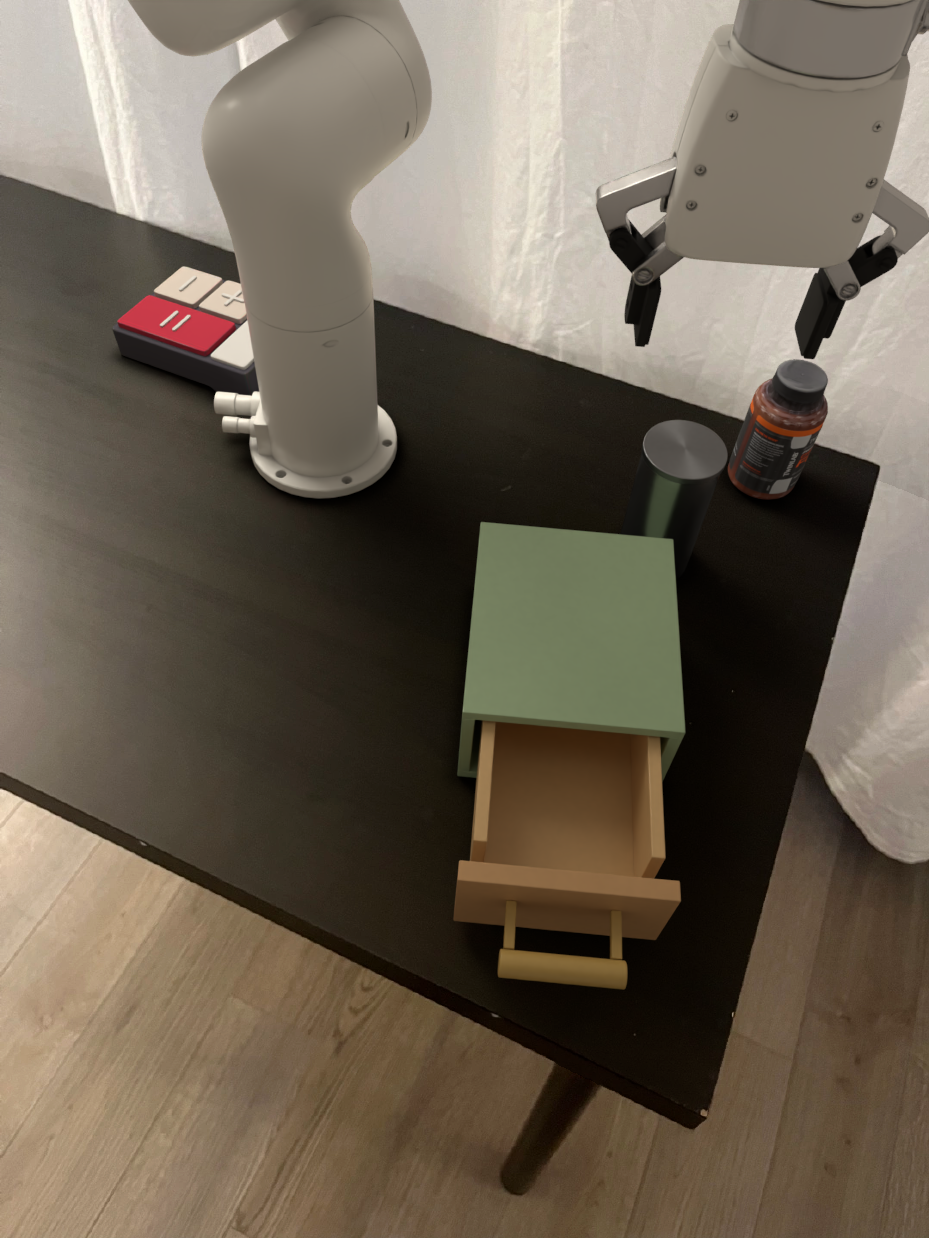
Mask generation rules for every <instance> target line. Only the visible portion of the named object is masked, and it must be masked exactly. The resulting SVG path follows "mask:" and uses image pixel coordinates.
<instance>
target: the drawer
mask: <svg viewBox="0 0 929 1238" xmlns="http://www.w3.org/2000/svg"><path fill="white" fill-rule="evenodd" d="M475 779H476V780H475V791H474V792H475V793H474V805H473V817H472V826H471V827H472V830H471V842H470V853H469V860H463V859H462V860H461V859H460V860H459V861H458V869H457V879H456V886H455V887H456V888H455V898H454V908H453V921H454V922H463V923H473V924H483V925H491V926H503V944H502V946H503V947H502V948H500V949H499V953H498V960H497V977H498V978H502V979H511V980H520V981H531V982H541V983H552V984H561V985H573V986H582V987H594V988H603V989H612V990H613V989H614V990H625V989H626V987H627V985H628V975H629V974H628V964H627V961H626V960H623V938H630V939H637V940H638V939H639V940H650V941H656V940H657V939H658V938H659V936H660V934H661V933H662V931H663V929H664V928H665V927H666V926H667V923H668V922H669V921H670V919H671V917H672V916H673V914H674V913H675V911H676V910H677V908H678V907H679V905H680V903H681V902H682V894H681V893H682V892H681V882H680V880H674V879H673V880H671V879H661V878H656V876H657V875H658V873H659V871H660V870H661V867H662V866H663V863H665V862H664V861H666V859H667V858H666V837H665V816H664V795H663V794H664V792H663V782H662V769H661V746H660V737H657V736H646V735H635V734H625V733H614V732H603V731H592V730H582V729H571V728H560V727H549V726H538V725H528V724H517V723H506V722H495V721H485V720H481V730H480V742H479V754H478V766H477V778H475ZM516 928H526V929H535V930H545V931H556V932H566V933H577V934H588V935H596V936H598V935H599V936H609V958H604V957H603V958H602V957H601V958H600V957H593V956H582V955H581V956H580V955H571V954H570V955H569V954H561V953H560V954H558V953H549V952H539V951H528V950H520V949H519V950H518V949H515V946H516Z"/></svg>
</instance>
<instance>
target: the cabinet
mask: <svg viewBox="0 0 929 1238" xmlns="http://www.w3.org/2000/svg"><path fill="white" fill-rule="evenodd" d="M478 534H479V535H478V545H477V546H478V547H477V556H476V557H477V558H476V567H475V576H474V577H475V578H474V586H473V587H474V590H473V598H472V608H471V619H470V628H469V630H470V631H469V640H468V649H467V651H468V652H467V659H466V661H467V662H466V670H465V671H466V672H465V682H464V693H463V704H462V711H461V713H462V714H461V725H460V735H459V736H460V737H459V749H458V750H459V751H458V761H457V762H458V763H457V773H456V775H457V777H463V778H474V779H477V766H478V754H479V742H480V730H481V720H485V721H495V722H506V723H517V724H528V725H538V726H549V727H560V728H571V729H582V730H592V731H603V732H614V733H625V734H635V735H646V736H657V737H660V746H661V769H662V783H663V782H664V780H665V777H666V775H667V773H668V771H669V769H670V766H671V764H672V762H673V760H674V758H675V756H676V754H677V752H678V750H679V747H680V745H681V744H682V741H683V739H684V737H685V735H686V720H685V719H686V718H685V704H684V689H683V673H682V671H683V670H682V658H681V657H682V656H681V655H682V654H681V642H680V641H681V640H680V625H679V610H678V608H679V607H678V593H677V592H678V591H677V580H676V576H675V560H674V544H673V539H664V538H653V537H642V536H631V535H620V533H619V534H618V533H608V532H596V531H587V530H586V531H585V530H574V529H563V528H553V527H540V526H529V525H519V524H510V523H509V524H507V523H496V522H485V521H481V522H480V526H479V533H478Z"/></svg>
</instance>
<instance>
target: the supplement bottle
mask: <svg viewBox="0 0 929 1238" xmlns="http://www.w3.org/2000/svg"><path fill="white" fill-rule="evenodd" d="M828 382H829V378H828V375H827V373H826V371H825V370H824V369H823V368H822V367H820V366H819V365H818V364H817V363H815V362H812V361H808V360H806V359H797V358H795V359H794V358H793V359H787V360H784V361H783V362H781V363H780V364H779V365H778V366H777V367H776V370H775V373H774V374H773V376H772V377H771V378H769V379H767V380H765V381H763V382H762V383H761V384H759V386H758V387H757V388H756V390H755V391H754V394H753V396H752V399H751V401H750V404H749V407H748V409H747V412H746V414H745V417H744V420H743V423H742V426H741V428H740V430H739V432H738V436H737V439H736V441H735V445H734V447H733V450H732V452H731V455H730V457H729V463H728V466H727V475H728V477H729V480H730V481H731V483H732V484H733V486H734V487H735V488H737V489H738V490H739V491H740V492H742V493H744V494H745V495H747V496H749V497H752V498H755V499H759V500H770V501H771V500H778V499H780V498H781V499H782V498H784V497H786V496H787V495H788V494H789V493H791V492H792V490H793V489H794V488H795V485H796V484H797V482H798V480H799V478H800V476H801V474H802V473H803V470H804V468H805V466H806V463H807V461H808V458H809V457H810V454H811V452H812V450H813V448H814V445H815V443H816V441H817V439H818V437H819V434H820V432H821V431H822V429H823V426H824V423H825V421H826V419H827V416H828V414H829V404H828V400H827V398H826V395H825V391H826V388H827V387H828V384H829V383H828Z"/></svg>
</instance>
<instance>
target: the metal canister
mask: <svg viewBox="0 0 929 1238" xmlns="http://www.w3.org/2000/svg"><path fill="white" fill-rule="evenodd" d="M727 462H728V449H727V446H726V444H725V442H724V441H723V439H722V438H721V436H719V435H718V434H717V433H716V432H715V431H714V430H712V429H711V428H709V427H707V426H705V425H703V424H700V423H699V422H695V421H691V420H685V419H672V420H665V421H663V422H659V423H657V424H655V425H654V426H652V427H651V428H649V430H648V431H647V432H646V434H645V435H644V438H643V441H642V445H641V454H640V457H639V461H638V465H637V469H636V473H635V475H634V476H635V477H634V479H633V483H632V487H631V491H630V495H629V498H628V502H627V506H626V510H625V514H624V517H623V522H622V526H621V529H620V533H619V534H620V535H631V536H642V537H653V538H664V539H673V544H674V560H675V576H676V581H677V580H678V579H680V578H681V577H682V576H683V574H684V573H685V572H686V570H687V567H688V565H689V561H690V559H691V556H692V553H693V550H694V547H695V545H696V542H697V539H698V538H699V534H700V531H701V529H702V525H703V523H704V520H705V517H706V515H707V512H708V509H709V507H710V503H711V501H712V498H713V496H714V493H715V491H716V488H717V485H718V482H719V480H720V476H721V474H722V473H723V471H724V469H725V467H726V464H727Z"/></svg>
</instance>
